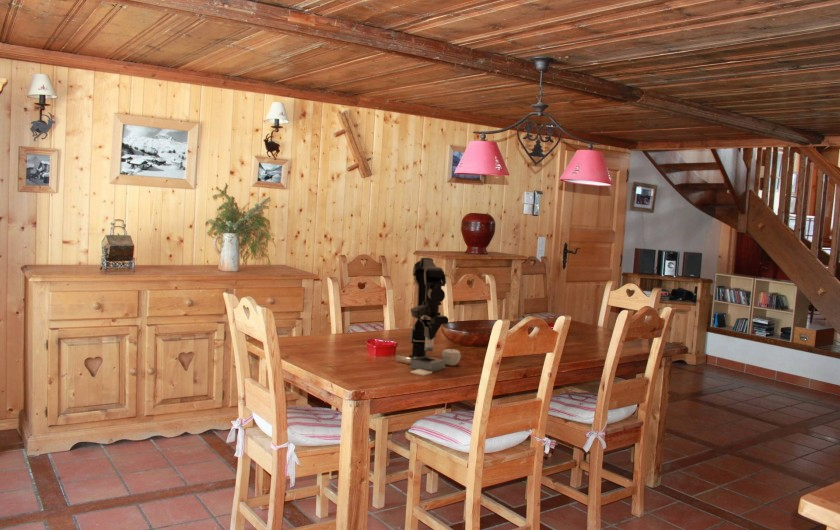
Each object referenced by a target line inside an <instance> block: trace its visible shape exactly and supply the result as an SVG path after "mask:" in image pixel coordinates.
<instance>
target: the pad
mask: <svg viewBox="0 0 840 530" xmlns="http://www.w3.org/2000/svg"><path fill="white" fill-rule="evenodd" d="M410 373H411V374H414V375H418V376H428V375H431V374H433V372H431V371H426V370H422V369H413V370H411V371H410Z"/></svg>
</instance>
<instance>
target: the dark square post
mask: <svg viewBox="0 0 840 530" xmlns="http://www.w3.org/2000/svg"><path fill="white" fill-rule="evenodd" d="M424 336H425V351H426V352H433V351H434V343H435V341H434V340H435V338H436V336H437V335H435V336H434V338H433V339H430V326H425V329H424Z"/></svg>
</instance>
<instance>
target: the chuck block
mask: <svg viewBox="0 0 840 530" xmlns="http://www.w3.org/2000/svg"><path fill="white" fill-rule="evenodd" d="M428 356H429V355H427V356H422V357H409V356H403V355H398V354H397V355H396V356H395V359H396V360H397V361H402V362H408V363H410V365H409V368H410V369H413V370H417V369H422V370H426V371H431V372H432V373H434V372H436V371H437V372H438V371H441V370H444V369H445V368H446V367H445V366H446V364H445V360H443V359H441V358H437V357H432V356H429V357H428Z"/></svg>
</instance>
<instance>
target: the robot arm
mask: <svg viewBox="0 0 840 530" xmlns="http://www.w3.org/2000/svg"><path fill="white" fill-rule="evenodd" d="M412 276H413V280H414V283H415V284H416V286H417V288H416V289H417V291H416V292H417V293H416V295H417V298H416V301H417V302H416V306H415V307H412V308H411V309H410V312H411V317H412V318H415V319H416V320H415V322H414V324H413V325H412V328H411V331H410V333H409V334H410V335H409V343H410V344H412V347H411V354H409V355H408V357H409V358H413V357H422V356H428V357H430V355H427V351H425V336H424V329H425V326H430V339H433V338H434V336H435V335H436V334H437V333H438V331H439V329H440V328H441V326H442V325H448V324H449V317H448V316H446V315H443V314H441V313H442V312H439V311H440V306H442V302H443V301H444V300H445V298H446V293H445V291H444V290H443V288H442V287H446V284H447V279H446V273H445V271H444V270H443V268H442V267H440V266H439V267H438V266H436V264H435V262H434V259H433V258H432V257H421V258H420V260H419V261H417V262H415V263H414V265H413V269H412ZM436 336H437V335H436ZM434 339H435V338H434Z"/></svg>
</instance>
